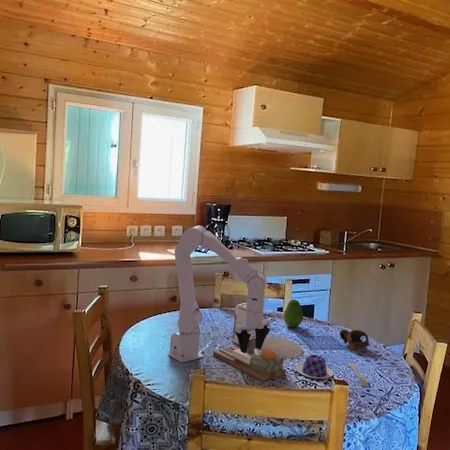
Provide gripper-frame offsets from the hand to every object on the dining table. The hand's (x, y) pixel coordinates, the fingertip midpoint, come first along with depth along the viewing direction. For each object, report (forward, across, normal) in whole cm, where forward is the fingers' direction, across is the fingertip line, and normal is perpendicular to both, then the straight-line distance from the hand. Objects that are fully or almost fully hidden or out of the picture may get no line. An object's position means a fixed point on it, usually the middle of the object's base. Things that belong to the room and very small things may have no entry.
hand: (250, 350), depth 162 cm
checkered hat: (+6, +15, -15) cm, 22 cm away
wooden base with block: (+5, 0, +1) cm, 5 cm away
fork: (+6, +26, -24) cm, 36 cm away
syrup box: (+5, +13, +17) cm, 22 cm away
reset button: (+1, 0, -8) cm, 8 cm away
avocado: (+5, +45, +20) cm, 49 cm away
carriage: (+3, 0, 0) cm, 3 cm away
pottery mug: (+6, +47, -9) cm, 48 cm away
